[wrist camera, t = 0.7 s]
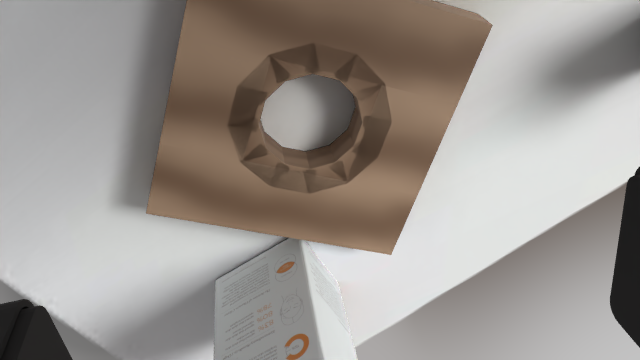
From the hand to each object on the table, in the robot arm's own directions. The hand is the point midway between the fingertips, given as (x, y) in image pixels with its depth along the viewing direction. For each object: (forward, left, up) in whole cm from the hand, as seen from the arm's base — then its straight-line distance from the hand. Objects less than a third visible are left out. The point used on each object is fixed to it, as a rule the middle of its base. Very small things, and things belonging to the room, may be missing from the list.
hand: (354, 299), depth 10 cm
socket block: (+9, +5, -30) cm, 31 cm away
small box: (+24, +7, -30) cm, 39 cm away
